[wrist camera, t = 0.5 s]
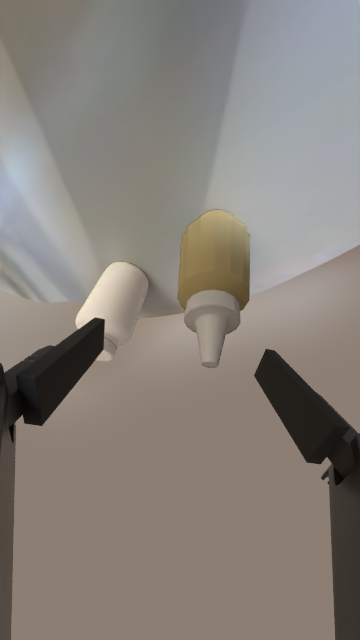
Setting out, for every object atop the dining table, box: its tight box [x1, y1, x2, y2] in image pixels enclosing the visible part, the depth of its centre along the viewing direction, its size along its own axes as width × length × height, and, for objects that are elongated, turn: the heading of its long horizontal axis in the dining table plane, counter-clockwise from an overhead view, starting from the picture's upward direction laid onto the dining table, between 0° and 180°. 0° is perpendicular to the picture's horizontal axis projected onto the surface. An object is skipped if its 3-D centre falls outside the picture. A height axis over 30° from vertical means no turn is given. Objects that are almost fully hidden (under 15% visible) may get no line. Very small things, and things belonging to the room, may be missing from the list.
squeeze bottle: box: [178, 209, 250, 368], centre depth 17 cm, size 8×8×18 cm
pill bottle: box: [76, 262, 149, 361], centre depth 27 cm, size 8×8×15 cm
